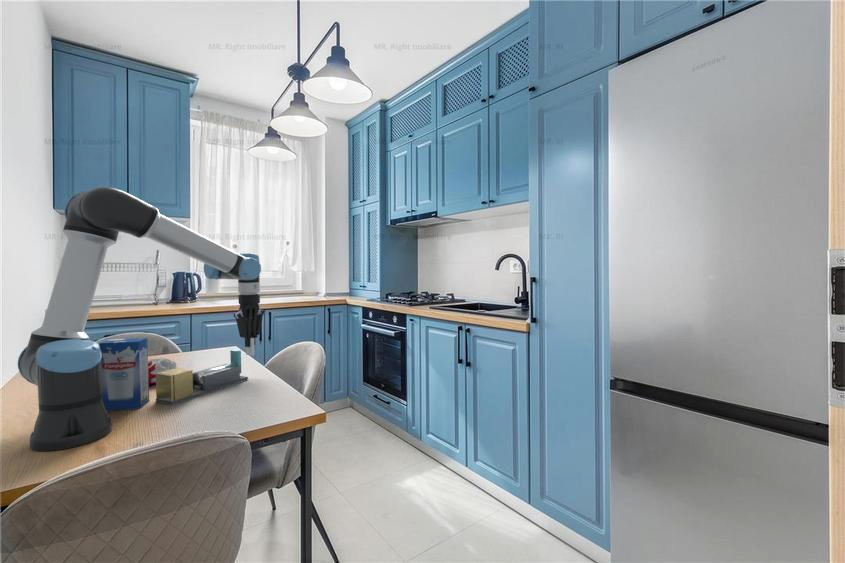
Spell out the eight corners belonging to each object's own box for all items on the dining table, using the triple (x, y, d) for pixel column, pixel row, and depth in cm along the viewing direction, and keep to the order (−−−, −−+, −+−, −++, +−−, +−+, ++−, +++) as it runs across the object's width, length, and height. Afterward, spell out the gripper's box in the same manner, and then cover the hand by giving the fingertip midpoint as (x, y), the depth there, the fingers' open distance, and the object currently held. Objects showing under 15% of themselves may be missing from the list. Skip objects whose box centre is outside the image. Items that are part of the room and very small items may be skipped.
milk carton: (101, 411, 113) (98, 343, 112) (111, 404, 119) (109, 339, 118) (141, 408, 116) (138, 341, 115) (149, 401, 122) (147, 337, 121)
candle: (179, 376, 147) (151, 394, 132) (149, 376, 147) (118, 394, 132) (177, 353, 145) (148, 369, 131) (147, 353, 146) (115, 368, 131)
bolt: (203, 385, 130) (203, 359, 130) (195, 383, 132) (194, 358, 131) (241, 373, 144) (241, 350, 144) (233, 372, 146) (233, 349, 145)
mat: (172, 405, 118) (172, 402, 118) (155, 401, 121) (155, 398, 121) (247, 379, 145) (247, 376, 145) (232, 377, 148) (232, 374, 148)
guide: (171, 401, 118) (171, 375, 118) (156, 398, 121) (155, 373, 121) (239, 379, 142) (239, 357, 141) (225, 377, 144) (225, 355, 144)
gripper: (242, 295, 142) (243, 359, 143) (269, 292, 154) (270, 352, 155) (227, 294, 145) (228, 357, 146) (255, 292, 157) (256, 350, 158)
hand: (250, 354), depth 150 cm, fingers closed
